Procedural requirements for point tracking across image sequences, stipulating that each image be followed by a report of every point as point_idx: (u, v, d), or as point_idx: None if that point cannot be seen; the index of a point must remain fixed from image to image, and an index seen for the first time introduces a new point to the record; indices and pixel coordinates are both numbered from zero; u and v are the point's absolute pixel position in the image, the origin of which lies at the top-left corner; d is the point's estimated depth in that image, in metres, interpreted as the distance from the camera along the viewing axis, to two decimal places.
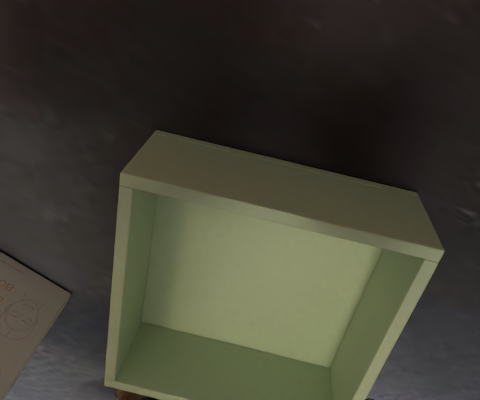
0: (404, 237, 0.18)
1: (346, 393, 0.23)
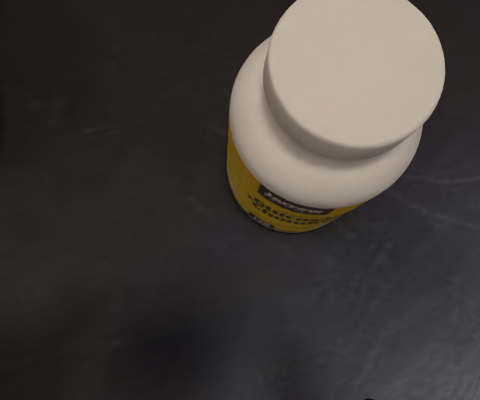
0: None
1: None
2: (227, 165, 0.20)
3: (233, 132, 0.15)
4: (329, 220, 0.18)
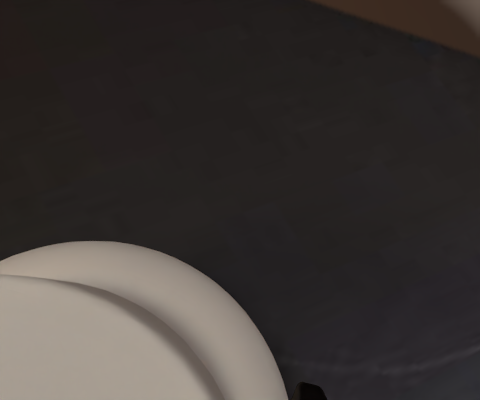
0: None
1: None
2: None
3: None
4: None
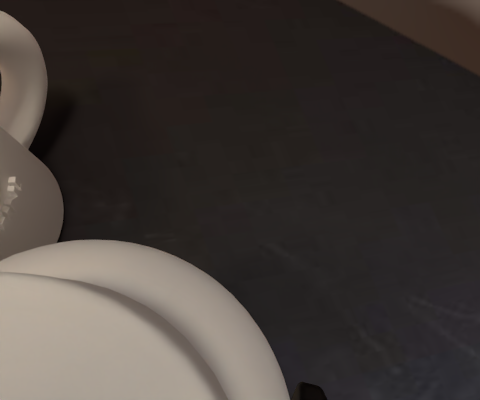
0: None
1: None
2: None
3: None
4: None
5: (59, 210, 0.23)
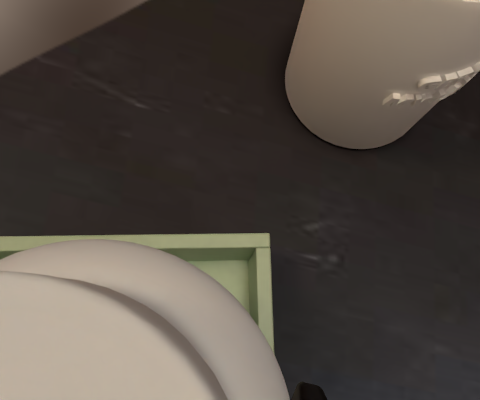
0: (231, 234, 0.18)
1: None
2: None
3: None
4: None
5: None
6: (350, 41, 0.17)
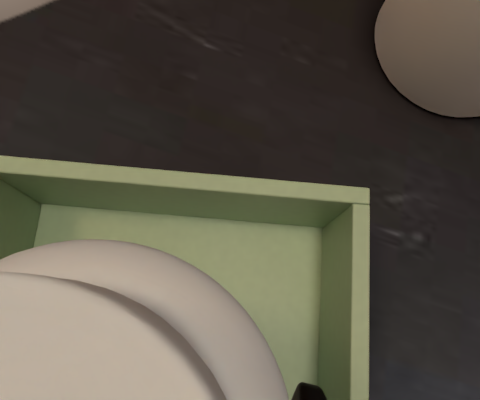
0: (322, 186, 0.15)
1: None
2: None
3: None
4: None
5: None
6: None
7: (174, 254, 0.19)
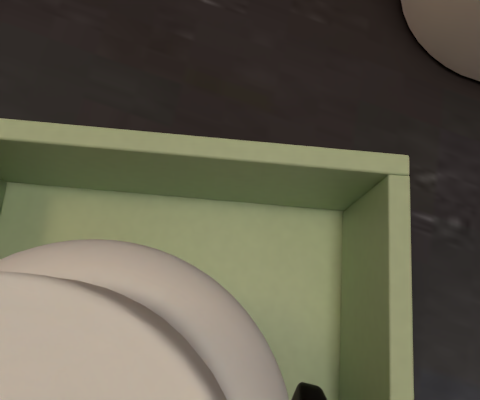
0: (348, 153, 0.12)
1: None
2: None
3: None
4: None
5: None
6: None
7: (166, 242, 0.16)
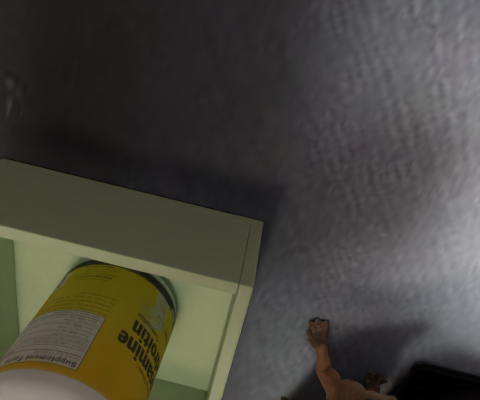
0: None
1: None
2: None
3: None
4: (153, 346, 0.21)
5: None
6: None
7: (44, 279, 0.25)
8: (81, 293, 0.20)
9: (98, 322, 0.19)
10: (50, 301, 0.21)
